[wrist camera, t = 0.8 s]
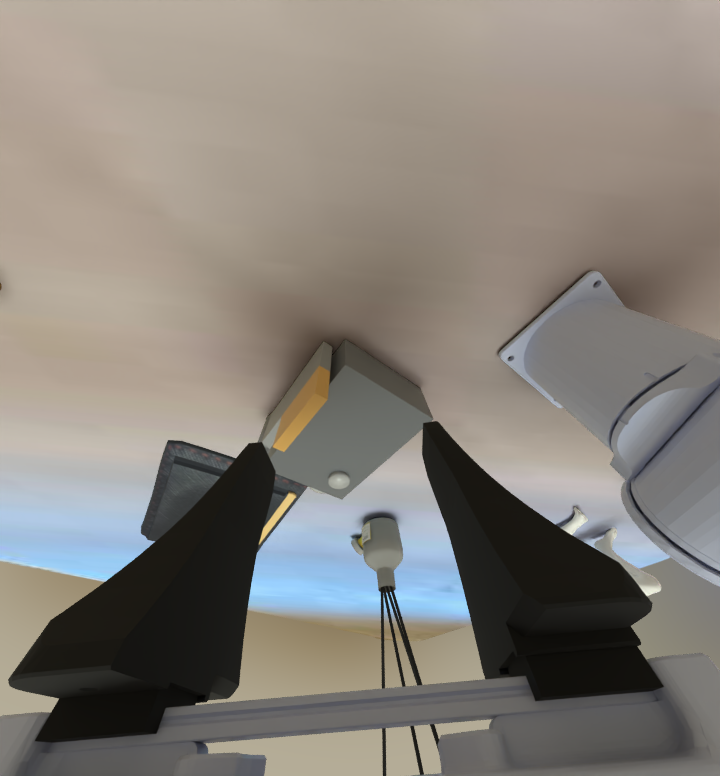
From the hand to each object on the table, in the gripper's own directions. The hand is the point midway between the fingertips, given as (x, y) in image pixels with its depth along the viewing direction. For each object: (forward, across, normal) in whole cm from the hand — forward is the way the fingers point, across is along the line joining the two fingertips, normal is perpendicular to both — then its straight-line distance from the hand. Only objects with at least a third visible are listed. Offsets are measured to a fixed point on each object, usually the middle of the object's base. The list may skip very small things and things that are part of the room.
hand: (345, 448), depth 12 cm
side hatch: (+10, +4, +3) cm, 11 cm away
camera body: (+10, +1, +6) cm, 12 cm away
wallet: (+11, +18, +19) cm, 29 cm away
